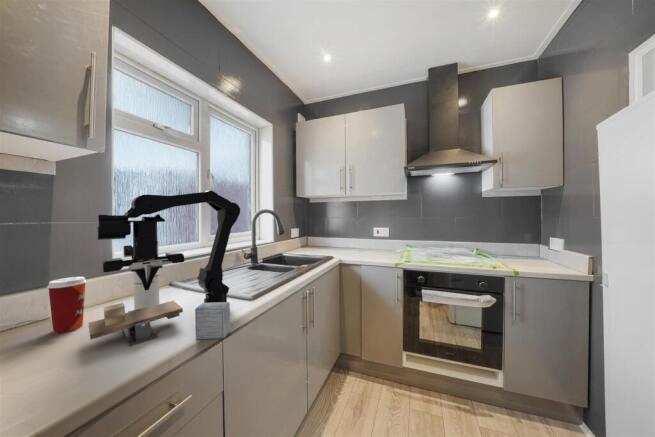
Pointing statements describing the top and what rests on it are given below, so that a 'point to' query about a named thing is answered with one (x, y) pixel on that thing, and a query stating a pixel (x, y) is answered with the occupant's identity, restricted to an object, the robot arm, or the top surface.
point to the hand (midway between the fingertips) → (146, 290)
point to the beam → (135, 318)
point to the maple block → (114, 314)
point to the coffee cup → (67, 303)
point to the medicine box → (212, 320)
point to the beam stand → (139, 333)
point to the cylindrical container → (149, 296)
